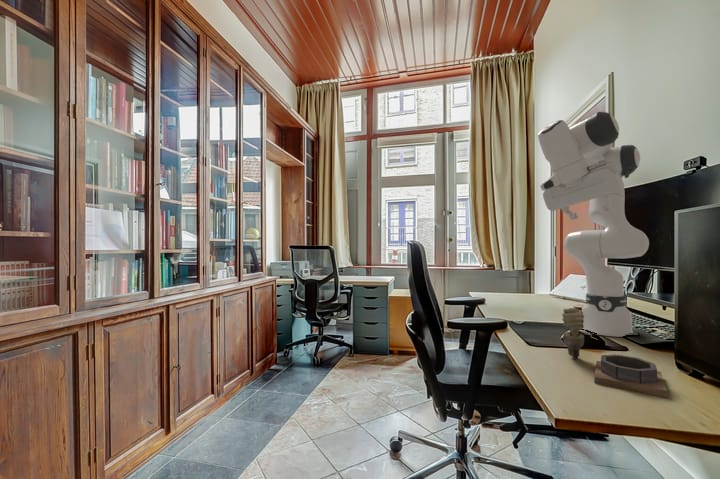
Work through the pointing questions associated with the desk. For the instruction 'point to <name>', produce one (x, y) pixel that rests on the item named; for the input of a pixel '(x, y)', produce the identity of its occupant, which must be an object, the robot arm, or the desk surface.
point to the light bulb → (573, 330)
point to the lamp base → (630, 374)
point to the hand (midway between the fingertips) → (591, 214)
